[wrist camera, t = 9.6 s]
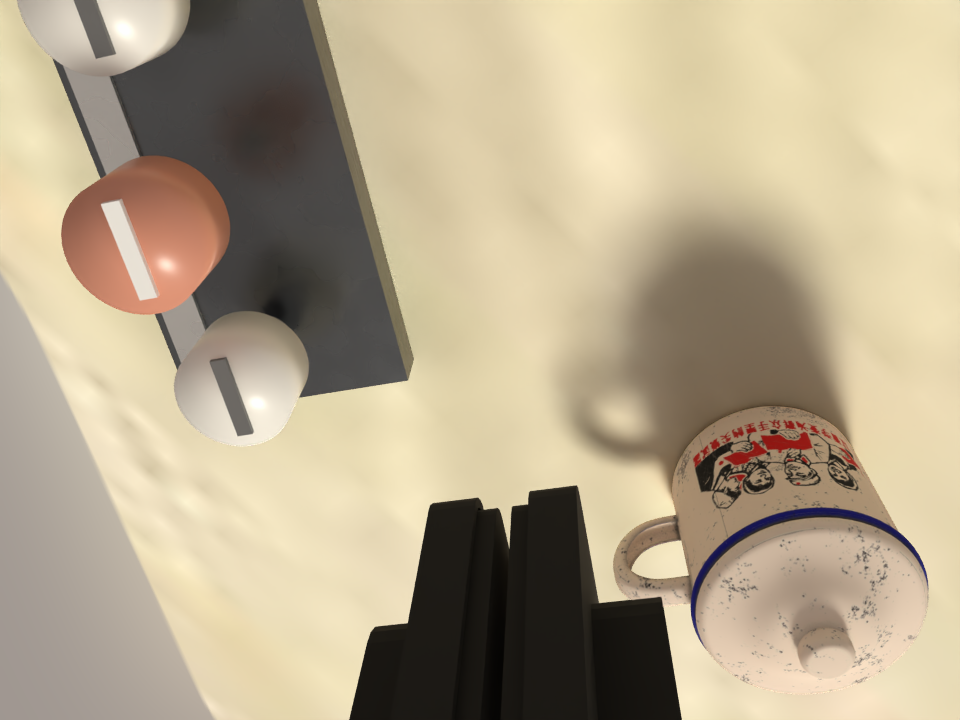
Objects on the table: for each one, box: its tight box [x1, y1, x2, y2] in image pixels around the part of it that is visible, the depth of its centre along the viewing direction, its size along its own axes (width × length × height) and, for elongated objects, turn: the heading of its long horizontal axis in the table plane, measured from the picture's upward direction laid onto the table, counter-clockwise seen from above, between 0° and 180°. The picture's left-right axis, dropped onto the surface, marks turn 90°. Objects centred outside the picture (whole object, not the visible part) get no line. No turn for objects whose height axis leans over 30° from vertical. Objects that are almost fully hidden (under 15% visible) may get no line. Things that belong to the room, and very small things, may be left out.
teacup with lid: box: [613, 406, 929, 694], centre depth 39 cm, size 12×9×12 cm
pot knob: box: [61, 156, 230, 314], centre depth 31 cm, size 4×4×5 cm
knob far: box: [174, 311, 309, 446], centre depth 36 cm, size 4×4×5 cm
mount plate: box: [53, 0, 414, 397], centre depth 37 cm, size 21×10×2 cm, turn 12°
